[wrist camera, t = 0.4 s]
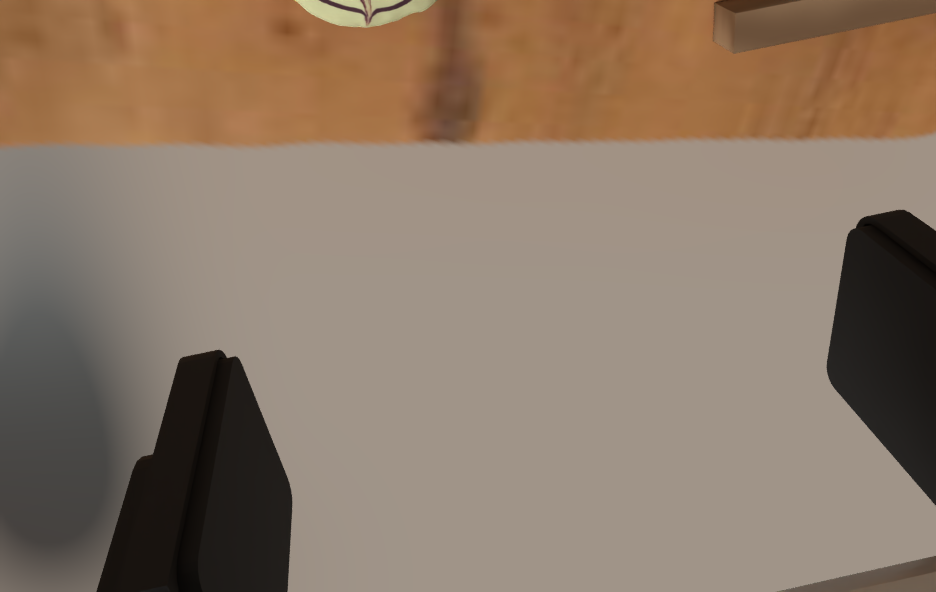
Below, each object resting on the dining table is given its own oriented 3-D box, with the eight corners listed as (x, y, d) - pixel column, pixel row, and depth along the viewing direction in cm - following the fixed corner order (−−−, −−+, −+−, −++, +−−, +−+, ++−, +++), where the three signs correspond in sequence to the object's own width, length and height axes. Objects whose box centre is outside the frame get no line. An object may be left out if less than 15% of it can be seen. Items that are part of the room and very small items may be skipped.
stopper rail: (714, 2, 39) (735, 13, 37) (968, -48, 40) (1003, -40, 38) (713, 41, 41) (733, 53, 38) (960, -9, 41) (994, 1, 39)
